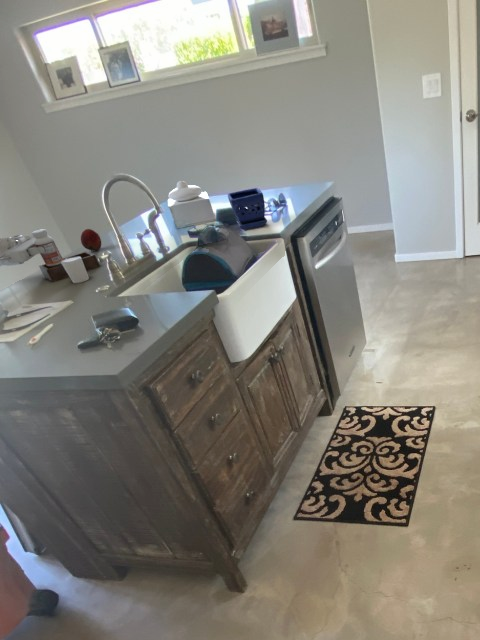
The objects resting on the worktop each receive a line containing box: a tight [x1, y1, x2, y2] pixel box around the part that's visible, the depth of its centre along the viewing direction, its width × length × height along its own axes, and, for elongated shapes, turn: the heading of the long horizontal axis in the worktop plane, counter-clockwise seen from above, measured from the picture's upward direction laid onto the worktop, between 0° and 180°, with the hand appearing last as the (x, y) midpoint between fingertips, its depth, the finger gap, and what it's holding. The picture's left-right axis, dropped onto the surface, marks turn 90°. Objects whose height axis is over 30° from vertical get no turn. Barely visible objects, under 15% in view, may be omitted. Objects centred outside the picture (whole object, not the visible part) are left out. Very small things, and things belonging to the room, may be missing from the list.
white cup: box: [61, 257, 90, 284], centre depth 182 cm, size 7×7×7 cm
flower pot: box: [227, 187, 268, 231], centre depth 210 cm, size 13×13×12 cm
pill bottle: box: [31, 228, 64, 266], centre depth 186 cm, size 6×6×11 cm
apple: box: [80, 228, 102, 252], centre depth 212 cm, size 7×8×8 cm
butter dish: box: [167, 180, 216, 230], centre depth 229 cm, size 18×18×16 cm
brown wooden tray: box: [38, 251, 101, 283], centre depth 193 cm, size 18×10×4 cm, turn 134°
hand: (48, 246), depth 186 cm, fingers closed on pill bottle, 6 cm apart
